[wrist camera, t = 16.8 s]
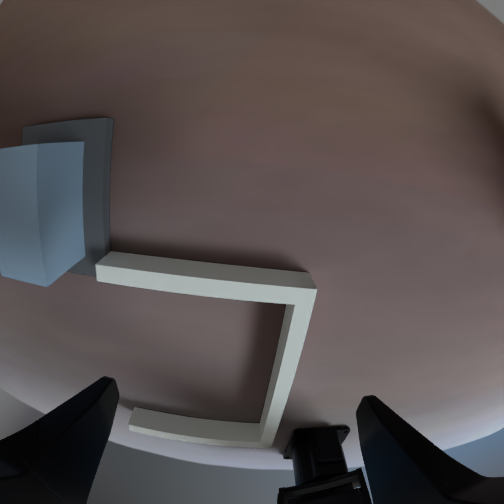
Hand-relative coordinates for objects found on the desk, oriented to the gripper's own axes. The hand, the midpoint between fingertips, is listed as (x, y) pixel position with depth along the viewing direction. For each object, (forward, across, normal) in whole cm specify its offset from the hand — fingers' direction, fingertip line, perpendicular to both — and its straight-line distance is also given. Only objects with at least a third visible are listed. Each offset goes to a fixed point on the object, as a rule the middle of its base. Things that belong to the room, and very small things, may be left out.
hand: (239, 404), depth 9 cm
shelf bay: (+12, +2, +9) cm, 15 cm away
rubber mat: (+11, +14, -5) cm, 18 cm away
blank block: (+10, +14, -5) cm, 18 cm away
